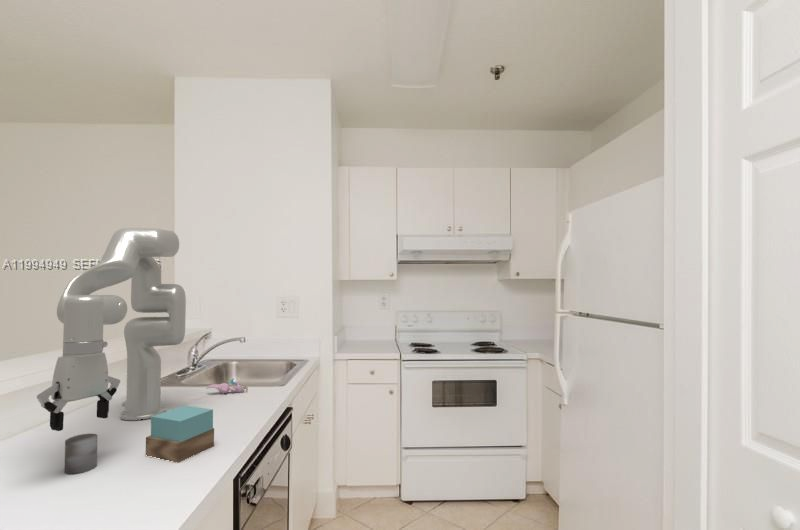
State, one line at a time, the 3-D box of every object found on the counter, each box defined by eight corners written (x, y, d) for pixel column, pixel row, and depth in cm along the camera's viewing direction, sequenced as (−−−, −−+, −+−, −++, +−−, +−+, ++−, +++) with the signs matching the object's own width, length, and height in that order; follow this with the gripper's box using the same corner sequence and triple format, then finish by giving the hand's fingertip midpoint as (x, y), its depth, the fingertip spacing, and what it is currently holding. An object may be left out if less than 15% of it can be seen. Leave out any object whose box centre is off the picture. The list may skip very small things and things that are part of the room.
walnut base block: (145, 457, 105) (145, 437, 105) (183, 441, 115) (183, 423, 115) (178, 464, 101) (178, 443, 101) (213, 447, 111) (214, 428, 111)
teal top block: (150, 436, 105) (151, 416, 106) (185, 424, 115) (185, 405, 115) (179, 442, 102) (180, 421, 102) (212, 428, 111) (213, 409, 111)
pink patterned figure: (246, 393, 169) (206, 390, 164) (249, 378, 170) (209, 374, 165) (246, 397, 163) (204, 394, 158) (249, 381, 164) (207, 378, 159)
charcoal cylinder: (58, 472, 97) (59, 440, 97) (86, 461, 102) (87, 432, 102) (74, 476, 94) (75, 444, 94) (102, 465, 100) (103, 435, 100)
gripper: (110, 343, 108) (108, 412, 107) (29, 353, 92) (26, 433, 91) (129, 345, 106) (128, 415, 104) (50, 355, 90) (47, 437, 89)
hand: (80, 423), depth 98 cm, fingers open, 9 cm apart
